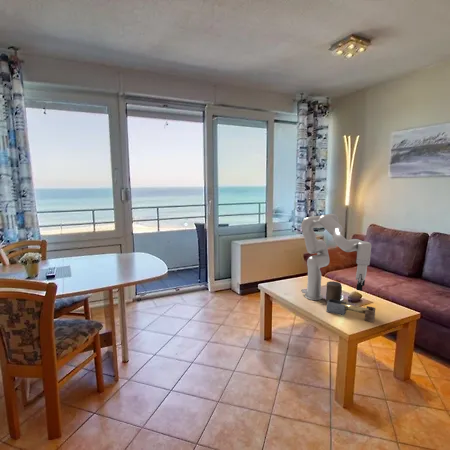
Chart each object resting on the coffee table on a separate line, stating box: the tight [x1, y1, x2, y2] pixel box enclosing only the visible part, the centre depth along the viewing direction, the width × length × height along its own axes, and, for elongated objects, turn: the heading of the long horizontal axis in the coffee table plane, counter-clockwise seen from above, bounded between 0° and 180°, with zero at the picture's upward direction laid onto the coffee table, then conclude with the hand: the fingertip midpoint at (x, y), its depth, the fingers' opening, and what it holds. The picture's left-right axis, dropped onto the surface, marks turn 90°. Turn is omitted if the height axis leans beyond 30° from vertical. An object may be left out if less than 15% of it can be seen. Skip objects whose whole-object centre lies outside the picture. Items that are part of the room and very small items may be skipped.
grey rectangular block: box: [325, 299, 348, 317], centre depth 197 cm, size 11×6×7 cm, turn 58°
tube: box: [341, 303, 369, 315], centre depth 192 cm, size 16×4×4 cm, turn 58°
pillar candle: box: [325, 281, 342, 303], centre depth 213 cm, size 10×10×15 cm
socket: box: [364, 305, 376, 323], centre depth 187 cm, size 5×7×7 cm
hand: (360, 287), depth 189 cm, fingers open, 9 cm apart
